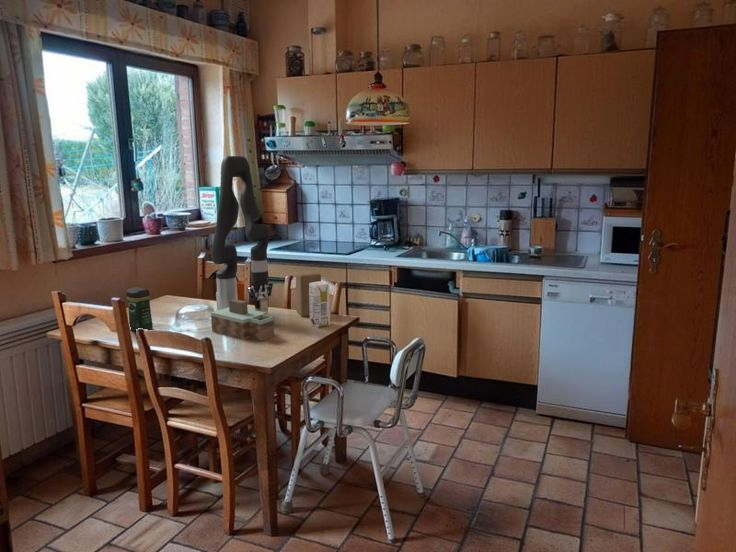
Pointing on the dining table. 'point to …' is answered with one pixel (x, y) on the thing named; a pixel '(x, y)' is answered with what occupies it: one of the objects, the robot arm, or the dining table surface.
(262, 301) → the beige rectangular block
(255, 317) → the lid
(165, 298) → the dining table surface
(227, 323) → the wooden tray
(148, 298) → the coffee jar
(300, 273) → the wooden block
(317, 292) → the juice carton
